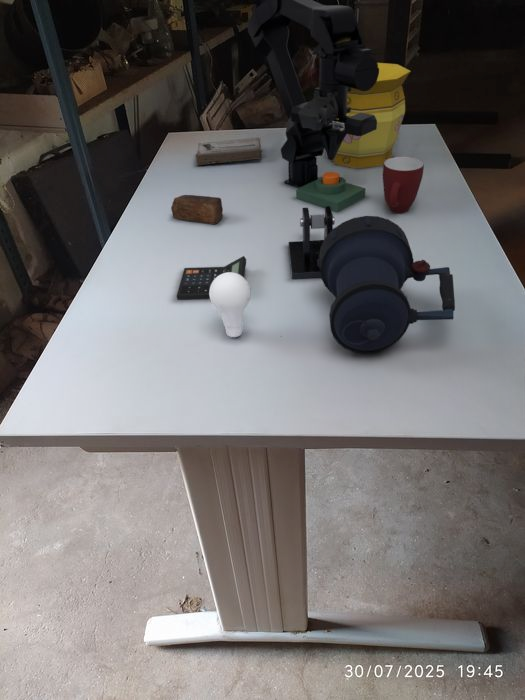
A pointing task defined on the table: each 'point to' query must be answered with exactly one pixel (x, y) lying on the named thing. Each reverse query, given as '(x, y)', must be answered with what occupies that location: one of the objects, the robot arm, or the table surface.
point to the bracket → (308, 248)
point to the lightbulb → (230, 300)
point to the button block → (330, 194)
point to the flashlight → (375, 283)
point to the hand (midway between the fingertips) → (331, 159)
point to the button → (330, 178)
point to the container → (387, 109)
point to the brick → (197, 208)
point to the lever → (317, 221)
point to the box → (228, 151)
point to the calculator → (205, 279)
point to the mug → (401, 182)
